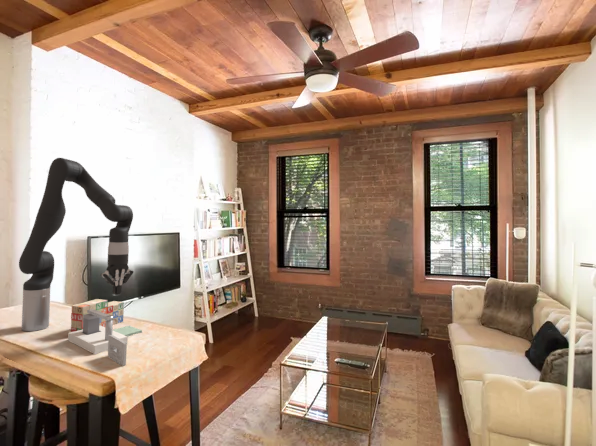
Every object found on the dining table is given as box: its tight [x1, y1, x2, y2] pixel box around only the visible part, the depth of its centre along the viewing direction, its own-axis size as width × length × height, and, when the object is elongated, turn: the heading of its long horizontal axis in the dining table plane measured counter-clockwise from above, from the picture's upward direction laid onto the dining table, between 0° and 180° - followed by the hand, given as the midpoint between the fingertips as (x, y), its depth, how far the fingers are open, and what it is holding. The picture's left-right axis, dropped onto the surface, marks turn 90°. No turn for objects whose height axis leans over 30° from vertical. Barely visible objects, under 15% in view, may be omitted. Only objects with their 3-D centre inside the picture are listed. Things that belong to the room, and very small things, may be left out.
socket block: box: [67, 320, 129, 355], centre depth 126 cm, size 21×12×10 cm, turn 58°
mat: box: [113, 325, 143, 337], centre depth 138 cm, size 10×10×1 cm
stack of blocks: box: [70, 298, 125, 333], centre depth 143 cm, size 21×6×12 cm, turn 163°
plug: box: [83, 314, 100, 335], centre depth 129 cm, size 4×4×10 cm
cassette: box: [107, 335, 128, 367], centre depth 111 cm, size 12×2×8 cm, turn 53°
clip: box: [87, 309, 113, 321], centre depth 126 cm, size 16×3×1 cm, turn 58°
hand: (116, 294), depth 134 cm, fingers closed
